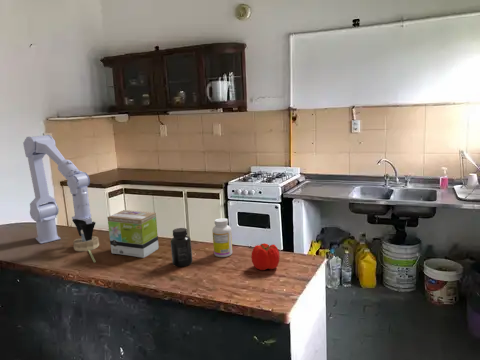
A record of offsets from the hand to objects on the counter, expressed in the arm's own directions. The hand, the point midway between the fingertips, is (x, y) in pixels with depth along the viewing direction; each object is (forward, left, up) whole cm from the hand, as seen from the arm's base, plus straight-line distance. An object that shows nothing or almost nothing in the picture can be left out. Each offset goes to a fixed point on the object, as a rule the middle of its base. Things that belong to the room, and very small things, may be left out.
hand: (85, 237), depth 160 cm
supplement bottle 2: (+45, +34, -4) cm, 57 cm away
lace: (+12, -2, -4) cm, 13 cm away
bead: (0, 0, -4) cm, 4 cm away
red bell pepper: (+65, +37, -4) cm, 75 cm away
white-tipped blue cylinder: (0, 0, -4) cm, 4 cm away
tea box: (+19, +12, -4) cm, 23 cm away
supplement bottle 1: (+42, +19, -4) cm, 46 cm away
